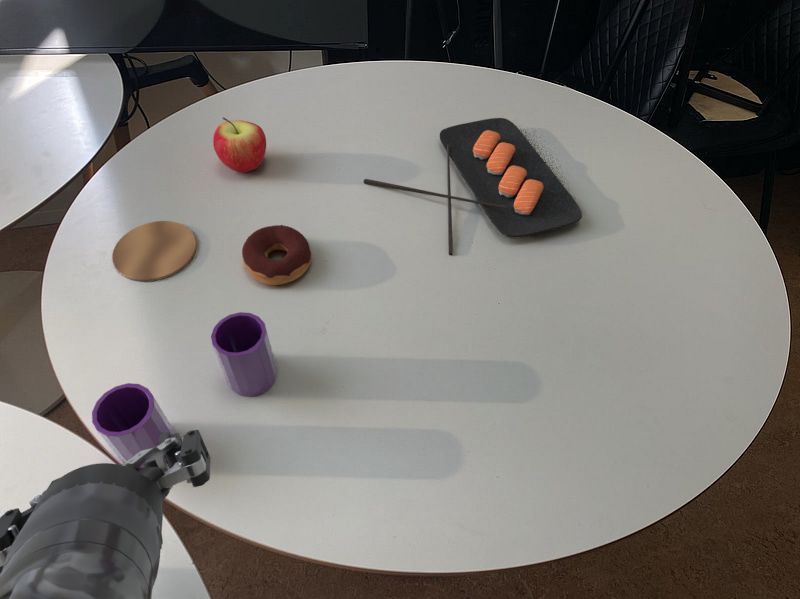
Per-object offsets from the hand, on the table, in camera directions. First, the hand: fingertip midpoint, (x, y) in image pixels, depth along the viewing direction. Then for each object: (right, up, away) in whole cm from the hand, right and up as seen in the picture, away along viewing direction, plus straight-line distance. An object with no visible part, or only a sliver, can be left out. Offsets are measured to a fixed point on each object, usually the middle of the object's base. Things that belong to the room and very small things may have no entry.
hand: (117, 465), depth 49 cm
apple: (-3, +36, +53) cm, 64 cm away
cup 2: (+5, +4, +27) cm, 27 cm away
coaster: (-13, +21, +40) cm, 47 cm away
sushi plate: (+34, +32, +50) cm, 68 cm away
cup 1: (-6, -3, +20) cm, 21 cm away
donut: (+5, +19, +39) cm, 44 cm away
